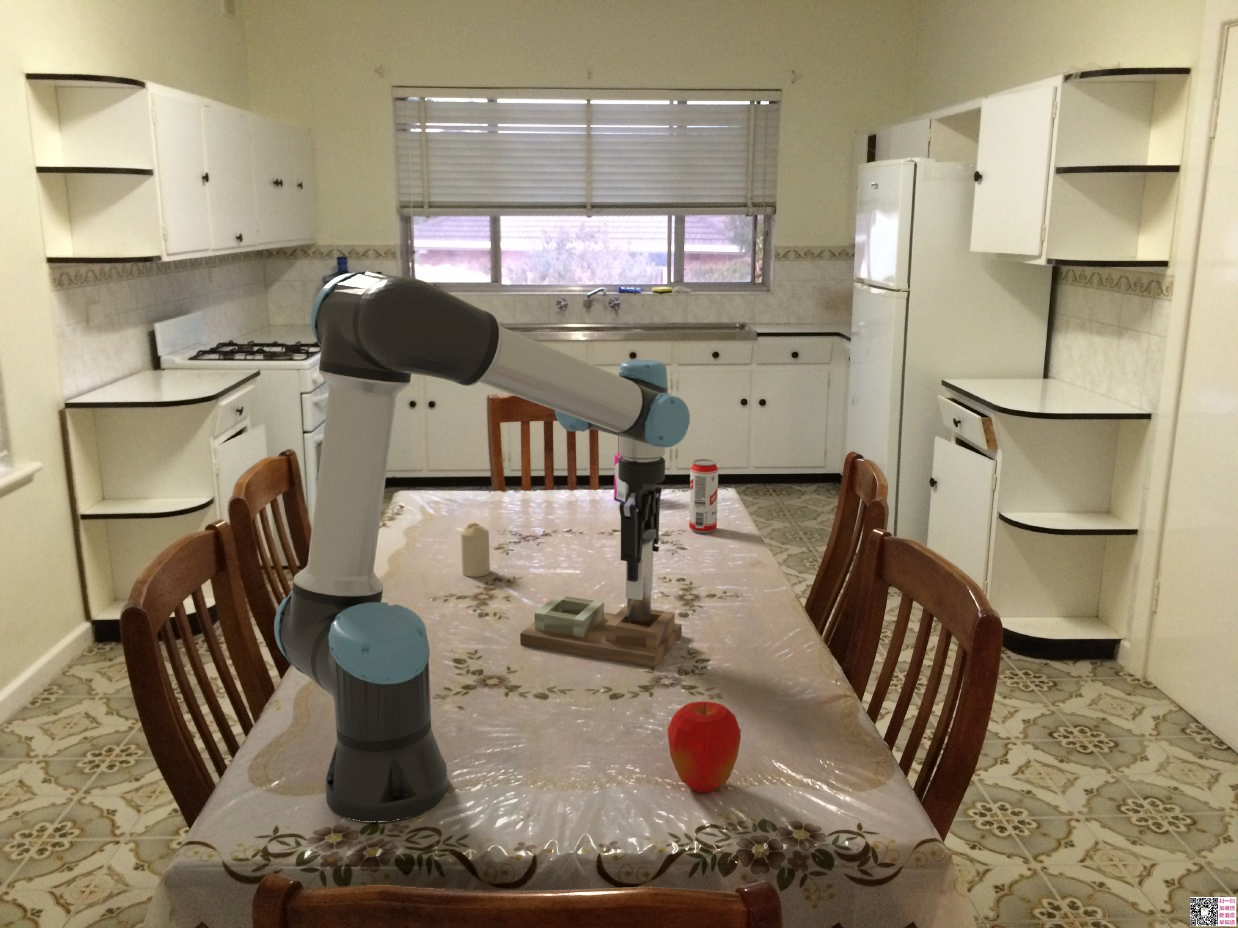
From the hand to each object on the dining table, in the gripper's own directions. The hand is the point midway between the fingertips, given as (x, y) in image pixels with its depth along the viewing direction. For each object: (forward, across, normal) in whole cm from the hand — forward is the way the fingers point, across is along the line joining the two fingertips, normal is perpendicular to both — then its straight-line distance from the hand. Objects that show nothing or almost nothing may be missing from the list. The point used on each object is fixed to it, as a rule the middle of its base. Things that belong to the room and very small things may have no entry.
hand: (639, 593), depth 176 cm
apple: (+10, -37, -23) cm, 45 cm away
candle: (+10, +22, +43) cm, 49 cm away
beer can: (+9, +66, +9) cm, 67 cm away
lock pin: (+4, 0, 0) cm, 4 cm away
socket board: (+10, 0, +7) cm, 12 cm away
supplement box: (+9, +82, +34) cm, 89 cm away
